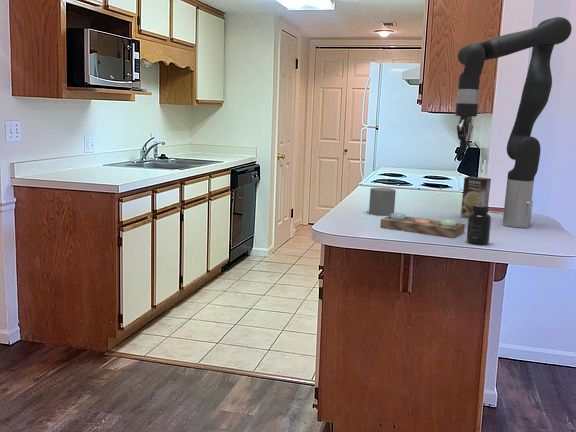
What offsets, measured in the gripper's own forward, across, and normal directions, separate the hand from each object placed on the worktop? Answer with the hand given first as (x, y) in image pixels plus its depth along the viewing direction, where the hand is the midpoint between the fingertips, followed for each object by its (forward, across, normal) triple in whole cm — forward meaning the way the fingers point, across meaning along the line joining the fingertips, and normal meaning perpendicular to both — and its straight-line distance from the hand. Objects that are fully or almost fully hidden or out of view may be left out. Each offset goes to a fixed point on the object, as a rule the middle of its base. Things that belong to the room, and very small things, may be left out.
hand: (462, 151), depth 208 cm
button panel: (+27, -18, +7) cm, 33 cm away
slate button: (+26, -18, +16) cm, 35 cm away
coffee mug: (+27, +5, +32) cm, 42 cm away
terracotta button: (+27, -18, +7) cm, 33 cm away
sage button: (+26, -18, -2) cm, 31 cm away
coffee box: (+27, +21, -1) cm, 34 cm away
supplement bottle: (+27, -26, -14) cm, 40 cm away
